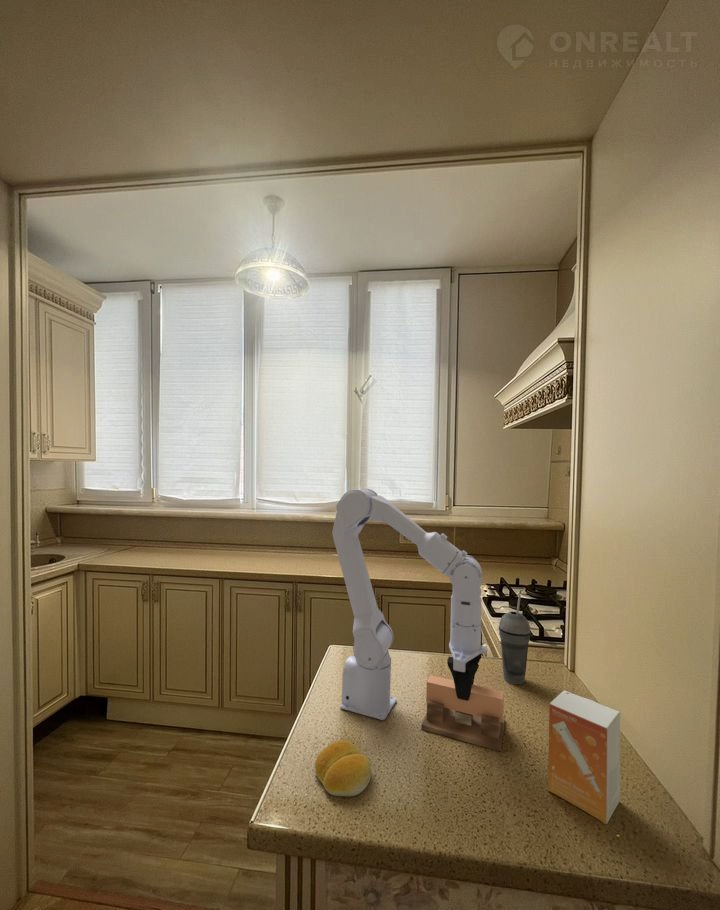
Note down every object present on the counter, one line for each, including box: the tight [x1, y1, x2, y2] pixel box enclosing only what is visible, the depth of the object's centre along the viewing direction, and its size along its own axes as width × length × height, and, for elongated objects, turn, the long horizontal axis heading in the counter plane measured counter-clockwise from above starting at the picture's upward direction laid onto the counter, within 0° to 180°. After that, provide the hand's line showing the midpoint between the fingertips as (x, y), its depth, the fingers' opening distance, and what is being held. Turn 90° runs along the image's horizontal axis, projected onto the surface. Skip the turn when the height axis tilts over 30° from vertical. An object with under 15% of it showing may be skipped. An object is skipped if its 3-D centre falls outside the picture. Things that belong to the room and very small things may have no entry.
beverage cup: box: [497, 593, 532, 685], centre depth 95 cm, size 7×7×20 cm
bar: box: [425, 674, 505, 723], centre depth 77 cm, size 14×3×4 cm, turn 67°
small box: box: [547, 690, 621, 825], centre depth 60 cm, size 8×6×13 cm
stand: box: [420, 700, 506, 752], centre depth 77 cm, size 14×10×4 cm
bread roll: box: [314, 740, 372, 797], centre depth 63 cm, size 8×9×4 cm
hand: (464, 694), depth 77 cm, fingers closed on bar, 3 cm apart
